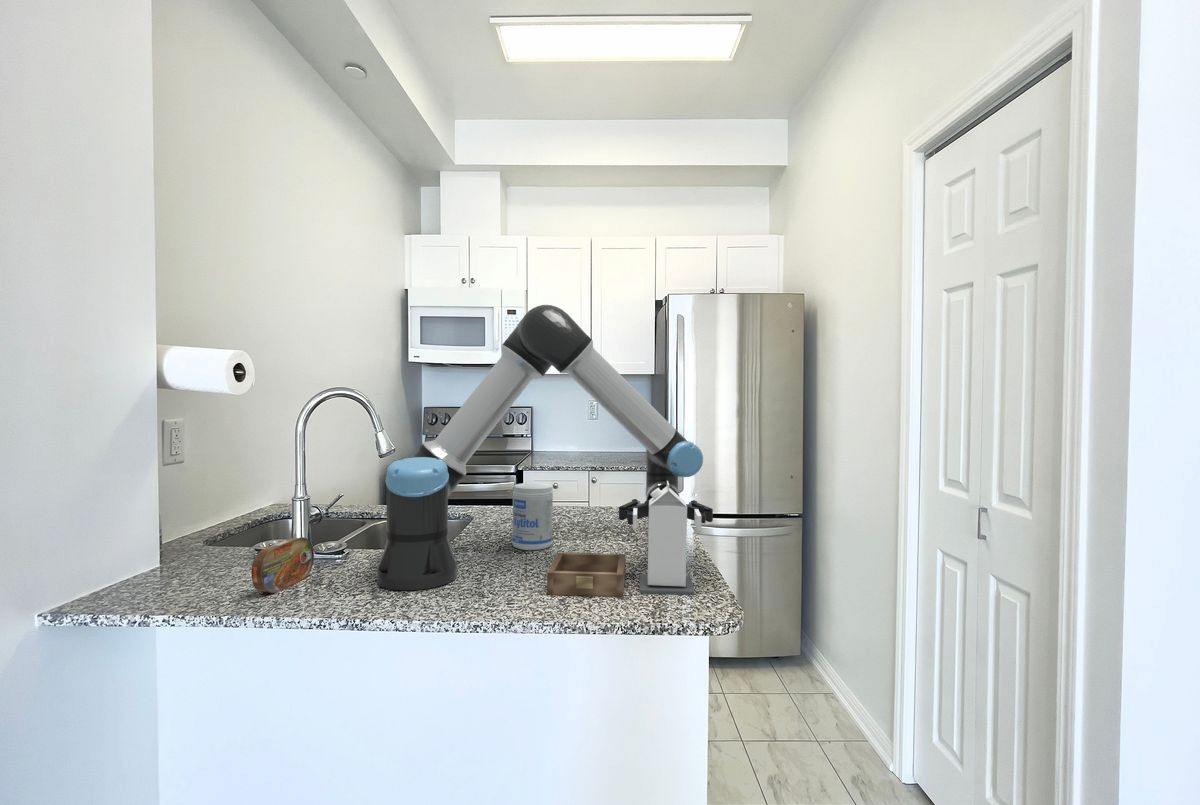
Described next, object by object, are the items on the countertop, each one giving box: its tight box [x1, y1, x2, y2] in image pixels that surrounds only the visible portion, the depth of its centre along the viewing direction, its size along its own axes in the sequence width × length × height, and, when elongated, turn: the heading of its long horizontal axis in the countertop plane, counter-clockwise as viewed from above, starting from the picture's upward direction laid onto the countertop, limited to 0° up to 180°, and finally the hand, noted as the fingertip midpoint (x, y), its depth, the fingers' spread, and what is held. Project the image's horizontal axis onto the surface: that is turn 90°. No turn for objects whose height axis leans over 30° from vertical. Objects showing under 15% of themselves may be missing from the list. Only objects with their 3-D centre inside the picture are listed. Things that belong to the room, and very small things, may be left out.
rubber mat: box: [639, 573, 695, 596], centre depth 117 cm, size 10×10×1 cm
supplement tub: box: [511, 482, 554, 551], centre depth 146 cm, size 10×10×15 cm
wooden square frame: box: [546, 552, 627, 598], centre depth 117 cm, size 14×15×4 cm
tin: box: [251, 536, 315, 594], centre depth 116 cm, size 15×3×8 cm, turn 171°
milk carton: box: [646, 481, 688, 587], centre depth 117 cm, size 7×7×19 cm
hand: (667, 522), depth 112 cm, fingers open, 11 cm apart
